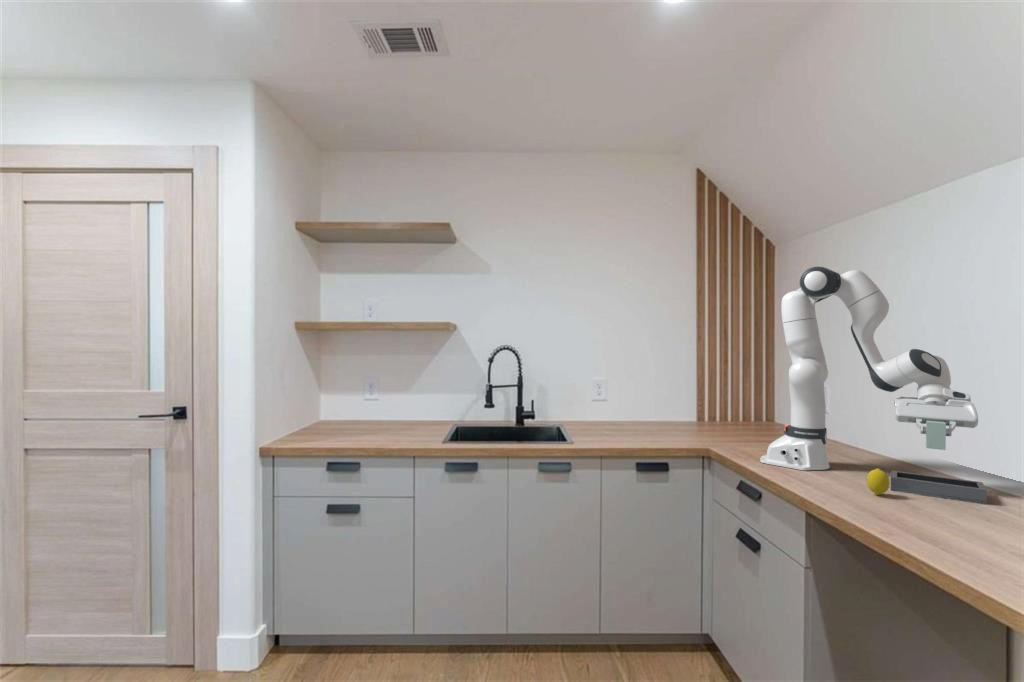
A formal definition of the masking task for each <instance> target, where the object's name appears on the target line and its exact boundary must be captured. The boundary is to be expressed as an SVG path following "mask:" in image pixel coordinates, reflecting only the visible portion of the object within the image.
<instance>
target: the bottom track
mask: <svg viewBox="0 0 1024 682" xmlns="http://www.w3.org/2000/svg"><path fill="white" fill-rule="evenodd" d="M890 471H891V472H890V491H893V492H898V493H899V492H901V493H907V494H913V495H920V496H927V497H934V498H941V499H945V500H947V499H948V500H954V501H961V502H966V503H976V504H979V505H980V504H981V505H988V501H987V500H988V490H987V488H986V486H985V484H984V483H983V481H975V480H969V479H968V480H967V479H960V478H953V477H945V476H938V475H937V476H936V475H932V474H931V475H930V474H929V475H928V474H922V473H915V472H914V473H913V472H908V471H899V470H890Z"/></svg>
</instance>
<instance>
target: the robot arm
mask: <svg viewBox="0 0 1024 682" xmlns="http://www.w3.org/2000/svg"><path fill="white" fill-rule="evenodd" d="M832 296H836V297H838V298H839V299H840V300H841V301H842V303H843V304H844V305H845V307H846V308H847V310H848V312H849V313H850V316H851V320H852V321H851V323H852V324H851V325H850V331H851V334H852V337H853V339H854V342H855V344H856V346H857V348H858V350H859V352H860V355H861V356H862V358H863V360H864V363H865V365H866V367H867V370H868V372H869V373H868V374H869V376H870V379H871V382H872V383H873V384H874V386H875V387H876V388H878V389H879V390H882V391H885V392H889V393H893V392H896V391H899V389H902V388H903V387H905V386H907V385H911V384H913V383H916V385H917V388H916V397H914V396H912V397H911V396H909V397H908V396H899V397H896V398H895V399H894V404H893V405H894V406H895V419H894V420H896V421H897V422H898V423H911V424H915V426H916V427H917V428H918V429H919V431H920V433H919V434H923V435H926V433H927V427H926V426H924V425H926V420H929V421H942V422H945V423H946V437H952V433H953V431H954V430H955V429H956V427H957V428H959V427H960V428H970V429H974V428H976V427H977V426H978V424H979V415H978V411H977V409H976V406H975V404H974V403H973V402H971V401H972V398H971V395H970V394H968V393H965V392H961V391H957V390H955V389H951V383H952V381H951V378H952V377H951V372H950V369H949V366H948V364H947V362H946V360H945V359H944V358H941V357H940V356H937V355H933V354H931V353H930V352H928V351H925V350H922V349H917V348H912V349H910V350H907V351H905V352H902V353H901V354H899V355H896V356H895V357H893V358H890V359H888V360H884V359H883V357H882V355H881V353H880V351H879V348H878V346H877V345H876V342H875V339H874V337H875V336H874V335H875V332H876V330H877V328H878V327H879V326H880V324H882V323H883V321H884V320H885V319H886V317H887V316H888V313H889V309H890V303H889V301H888V299H887V297H886V296H885V294H884V293H883V292H882V290H881V289H880V288H879V286H878V285H877V284H876V283H875V282H874V280H872V279H871V278H870V277H869V276H868V275H867V274H866V273H864V272H863V270H859V269H852V270H851V269H850V270H848V271H846V272H843V273H841V274H840V273H839V272H836V271H834V270H831V269H829V268H827V267H824V266H812V267H809V268H807V269H806V270H805V271H804V272H802V275H801V276H800V278H799V288H798V289H796V290H793V291H789V292H787V293H786V294H784V296H782V298H781V305H780V306H781V307H780V308H781V309H780V310H781V311H780V313H781V322H782V327H783V334H784V339H785V344H786V347H787V350H788V353H789V357H790V360H791V365H790V367H789V370H788V386H789V387H788V388H789V389H788V390H789V399H790V424H788V423H787V424H785V425H784V429H783V432H784V433H783V434H784V435H781V436H780V437H778V438H777V439H775V440H774V441H772V442H771V443H770V444H769V445H768V447H767V450H766V454H764V455H762V456H760V458H759V461H760V462H761V463H762V464H767V465H771V466H772V465H773V466H778V467H784V468H788V469H794V470H799V471H817V470H818V471H821V470H822V471H824V470H828V469H830V468H831V466H830V463H829V458H828V455H827V454H828V453H827V447H826V445H827V442H828V441H827V440H828V431H827V430H828V429H827V427H826V408H827V407H826V398H825V397H826V396H825V382H826V380H827V378H828V377H829V376H828V375H829V371H828V365H827V362H826V358H825V357H826V356H825V353H824V349H823V345H822V341H821V337H820V332H819V326H818V319H817V314H816V306H815V305H816V303H819V302H820V301H823V300H825V299H827V298H830V297H832ZM947 426H948V428H947Z"/></svg>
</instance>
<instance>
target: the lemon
mask: <svg viewBox="0 0 1024 682" xmlns="http://www.w3.org/2000/svg"><path fill="white" fill-rule="evenodd" d="M889 478H890V477H889V475H888V474H887V473H886V472H885V471H883V470H882V469H880V468H878V467H877V468H876V469H872V470H870V471H869V472H868V474H867V477H866V485H867V488H868V489H869V490H870V491H871V492H872V493H874V494H875V495H876V496H880V495H882V494H885V493H886V492H888V490H889V488H890V479H889Z"/></svg>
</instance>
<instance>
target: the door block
mask: <svg viewBox="0 0 1024 682" xmlns="http://www.w3.org/2000/svg"><path fill="white" fill-rule="evenodd" d="M925 427H927V433H926V434H925V448H926V449H932V450H942V451H946V446H947V445H946V444H947V443H946V442H947V441H946V440H947V438H946V437H947V436H946V428H947V426H946V423H945V422H942V421H929V420H926V424H925Z"/></svg>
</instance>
